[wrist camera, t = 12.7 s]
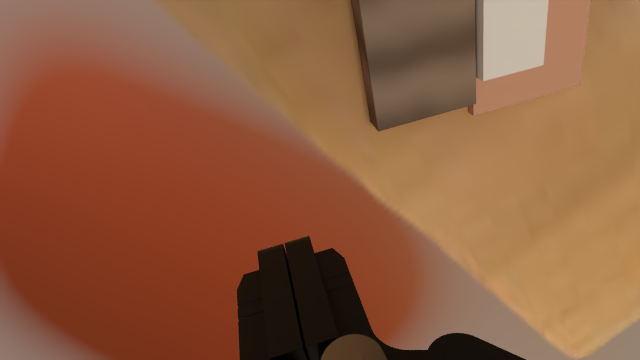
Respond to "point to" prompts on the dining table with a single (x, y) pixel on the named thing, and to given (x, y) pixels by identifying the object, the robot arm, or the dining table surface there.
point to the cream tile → (509, 36)
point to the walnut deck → (416, 57)
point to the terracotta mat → (559, 61)
